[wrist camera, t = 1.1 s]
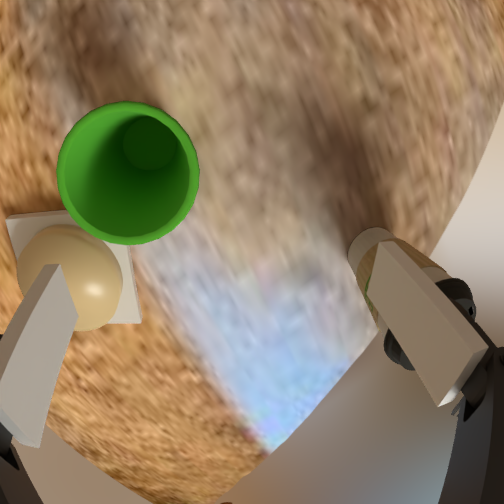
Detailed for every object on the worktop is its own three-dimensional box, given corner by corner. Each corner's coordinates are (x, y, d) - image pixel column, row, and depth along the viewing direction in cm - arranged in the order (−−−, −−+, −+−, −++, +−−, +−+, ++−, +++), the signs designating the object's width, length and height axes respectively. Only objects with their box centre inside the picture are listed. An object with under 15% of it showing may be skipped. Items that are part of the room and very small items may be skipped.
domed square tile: (10, 215, 27) (-6, 230, 24) (124, 205, 29) (115, 221, 26) (42, 315, 34) (33, 334, 31) (142, 316, 36) (138, 338, 33)
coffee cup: (317, 249, 35) (376, 348, 22) (385, 195, 33) (474, 269, 20) (356, 297, 40) (409, 387, 27) (414, 251, 37) (485, 327, 25)
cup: (146, 207, 30) (123, 271, 20) (85, 139, 25) (30, 174, 16) (220, 149, 28) (230, 188, 18) (158, 73, 23) (132, 68, 14)
